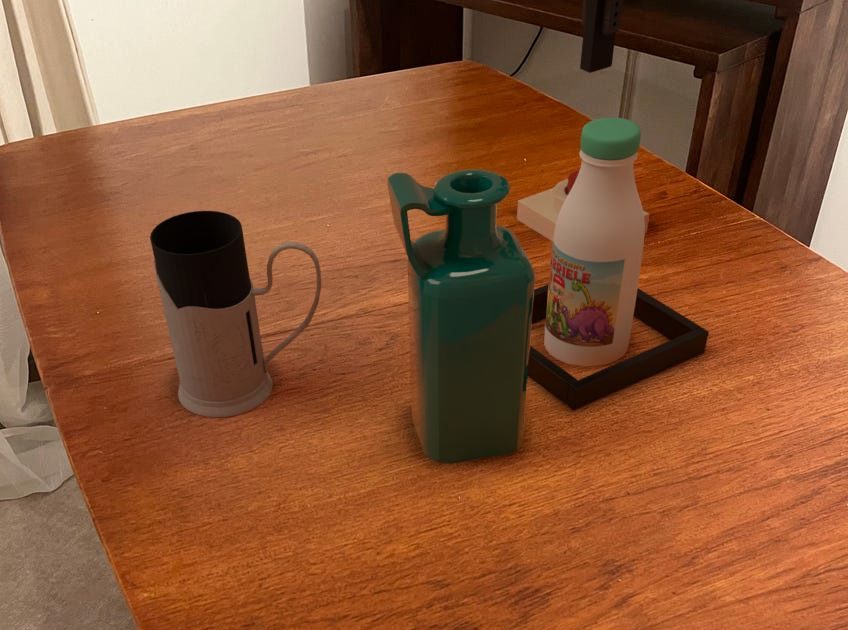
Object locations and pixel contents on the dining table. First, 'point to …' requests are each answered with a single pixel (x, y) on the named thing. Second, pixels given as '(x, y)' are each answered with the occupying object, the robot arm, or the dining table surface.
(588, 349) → the milk bottle
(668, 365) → the black square frame
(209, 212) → the glass holder
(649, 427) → the dining table surface
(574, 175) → the stop button
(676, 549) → the dining table surface
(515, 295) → the pitcher
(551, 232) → the control box
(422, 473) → the dining table surface
